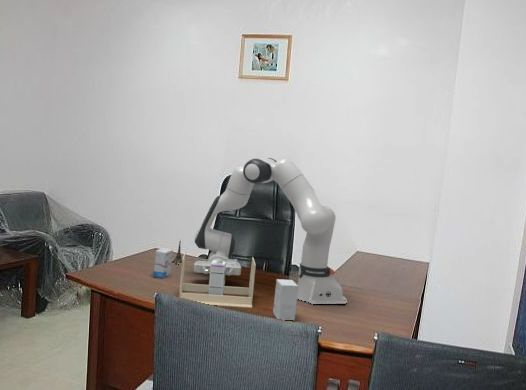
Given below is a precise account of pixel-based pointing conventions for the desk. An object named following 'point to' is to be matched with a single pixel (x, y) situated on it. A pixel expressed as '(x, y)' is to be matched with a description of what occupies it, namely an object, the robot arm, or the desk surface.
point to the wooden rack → (219, 299)
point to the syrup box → (217, 277)
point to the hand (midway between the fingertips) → (217, 272)
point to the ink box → (162, 263)
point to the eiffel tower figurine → (178, 256)
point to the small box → (285, 299)
